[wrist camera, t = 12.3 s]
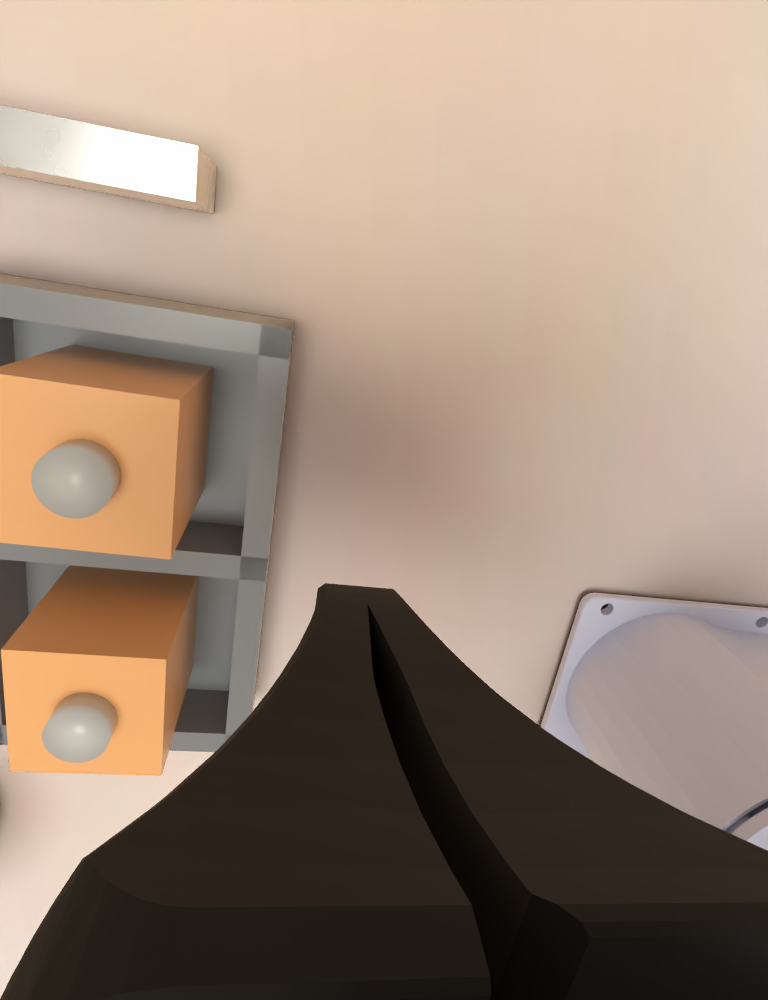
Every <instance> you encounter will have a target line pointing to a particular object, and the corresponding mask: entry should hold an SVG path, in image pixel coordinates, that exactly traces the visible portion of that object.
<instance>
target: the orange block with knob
mask: <svg viewBox="0 0 768 1000" xmlns="http://www.w3.org/2000/svg"><path fill="white" fill-rule="evenodd" d="M198 580H199V576H193V575H181V574H169V573H157V572H145V571H133V570H121V569H109V568H97V567H85V566H73V565H69V567H68V568H67V569H66V570H65V572H64V573H63V574H62V575H61V576H60V578H59V579H58V580H57V581H56V583H55V584H54V585H53V586H52V587H51V589H50V590H49V591H48V592H47V594H46V595H45V596H44V597H43V599H42V600H41V601H40V602H39V603H38V605H37V606H36V607H35V608H34V610H33V611H32V612H31V613H30V614H29V616H28V617H27V618H26V619H25V621H24V622H23V623H22V624H21V626H20V627H19V628H18V629H17V630H16V632H15V633H14V634H13V635H12V637H11V638H10V639H9V640H8V641H7V643H6V644H5V645H4V646H3V648H2V649H1V659H2V672H3V686H4V700H5V713H6V727H7V741H8V754H9V768H10V772H45V773H81V774H118V775H154V776H162V772H163V769H164V765H165V762H166V758H167V755H168V752H169V748H170V745H171V741H172V738H173V734H174V731H175V728H176V724H177V721H178V717H179V714H180V710H181V707H182V704H183V700H184V697H185V693H186V690H187V686H188V683H189V680H190V676H191V673H192V669H193V662H194V646H195V629H196V613H197V596H198Z"/></svg>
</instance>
